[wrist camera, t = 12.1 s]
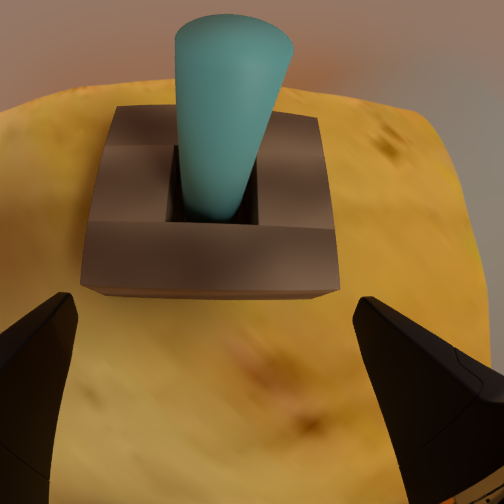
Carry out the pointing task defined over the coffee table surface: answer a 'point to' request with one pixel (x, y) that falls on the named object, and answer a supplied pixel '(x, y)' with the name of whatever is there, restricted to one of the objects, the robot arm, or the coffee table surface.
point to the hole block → (210, 234)
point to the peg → (224, 107)
